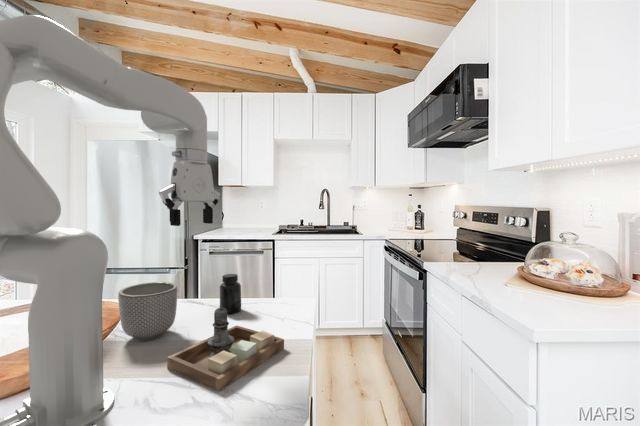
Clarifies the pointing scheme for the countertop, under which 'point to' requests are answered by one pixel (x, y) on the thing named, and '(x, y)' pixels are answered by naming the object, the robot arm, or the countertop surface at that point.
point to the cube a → (222, 362)
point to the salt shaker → (220, 333)
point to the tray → (196, 356)
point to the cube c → (262, 339)
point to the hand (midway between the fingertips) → (192, 224)
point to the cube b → (244, 350)
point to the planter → (147, 309)
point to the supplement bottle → (230, 293)
